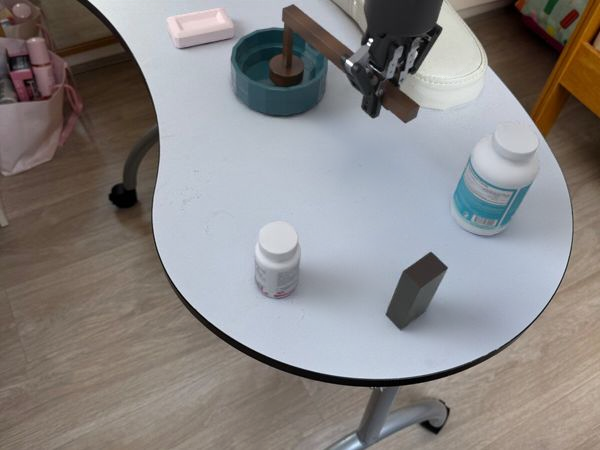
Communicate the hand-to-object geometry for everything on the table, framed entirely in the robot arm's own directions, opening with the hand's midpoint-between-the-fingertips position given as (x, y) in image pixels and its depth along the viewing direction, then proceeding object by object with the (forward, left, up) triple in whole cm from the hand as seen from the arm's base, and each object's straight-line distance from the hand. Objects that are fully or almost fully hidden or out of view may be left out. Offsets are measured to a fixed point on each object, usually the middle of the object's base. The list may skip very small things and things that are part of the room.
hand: (377, 108), depth 69 cm
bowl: (+16, -7, -9) cm, 20 cm away
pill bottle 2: (-16, +2, -9) cm, 18 cm away
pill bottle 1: (+2, +22, -9) cm, 24 cm away
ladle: (+7, -3, -7) cm, 10 cm away
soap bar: (+32, -12, -9) cm, 35 cm away
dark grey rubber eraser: (-12, +19, -9) cm, 24 cm away
